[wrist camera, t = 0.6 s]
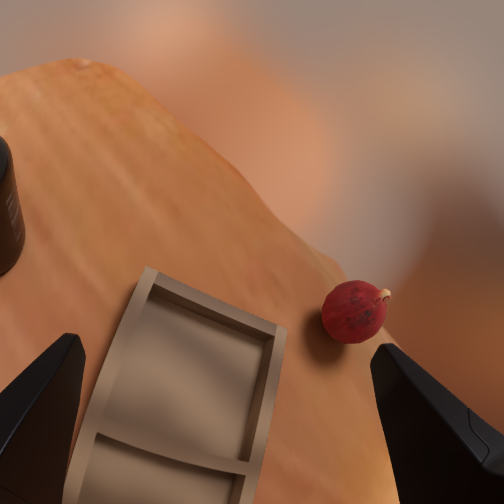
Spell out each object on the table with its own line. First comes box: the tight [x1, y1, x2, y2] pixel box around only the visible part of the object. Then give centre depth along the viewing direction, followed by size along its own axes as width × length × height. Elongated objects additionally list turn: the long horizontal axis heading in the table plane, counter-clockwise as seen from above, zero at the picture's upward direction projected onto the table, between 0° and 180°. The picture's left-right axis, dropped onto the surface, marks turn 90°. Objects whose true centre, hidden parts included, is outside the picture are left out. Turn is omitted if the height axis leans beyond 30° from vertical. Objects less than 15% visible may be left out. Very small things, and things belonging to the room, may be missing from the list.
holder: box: [62, 266, 288, 504], centre depth 17 cm, size 23×12×2 cm, turn 166°
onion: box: [322, 280, 391, 344], centre depth 27 cm, size 6×6×8 cm
